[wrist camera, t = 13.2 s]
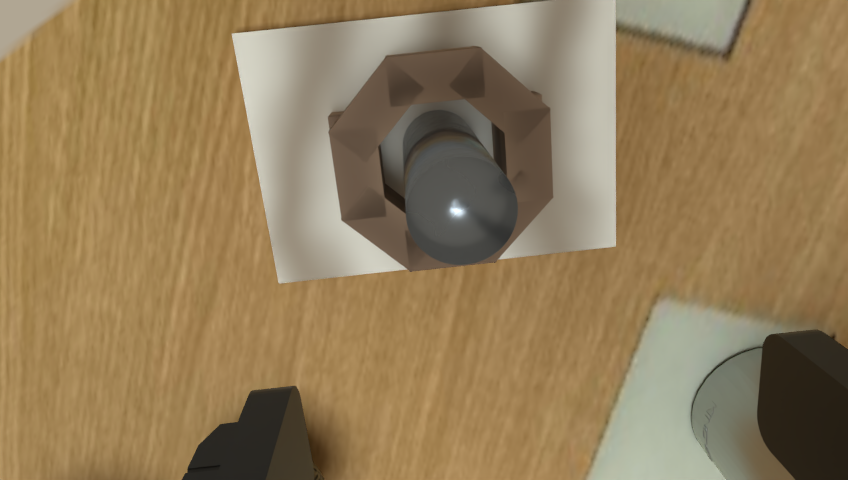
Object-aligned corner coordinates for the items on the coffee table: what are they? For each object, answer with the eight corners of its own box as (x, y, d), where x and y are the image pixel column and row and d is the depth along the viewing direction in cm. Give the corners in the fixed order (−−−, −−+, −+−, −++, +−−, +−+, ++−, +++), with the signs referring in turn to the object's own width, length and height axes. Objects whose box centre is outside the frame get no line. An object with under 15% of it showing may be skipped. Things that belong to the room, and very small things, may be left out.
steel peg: (471, 106, 34) (515, 151, 21) (477, 177, 35) (520, 258, 23) (398, 113, 34) (399, 163, 21) (406, 185, 35) (411, 270, 23)
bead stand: (609, -6, 33) (653, -14, 28) (610, 241, 38) (648, 278, 32) (236, 33, 33) (203, 33, 27) (281, 277, 37) (261, 320, 32)
